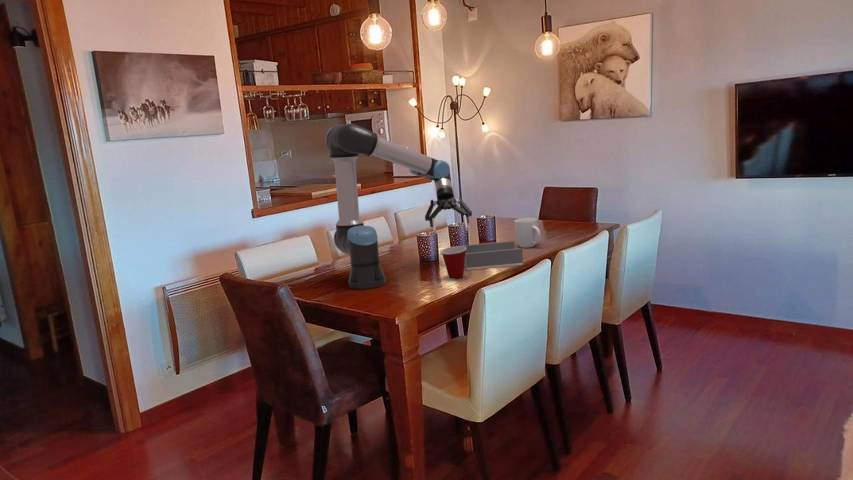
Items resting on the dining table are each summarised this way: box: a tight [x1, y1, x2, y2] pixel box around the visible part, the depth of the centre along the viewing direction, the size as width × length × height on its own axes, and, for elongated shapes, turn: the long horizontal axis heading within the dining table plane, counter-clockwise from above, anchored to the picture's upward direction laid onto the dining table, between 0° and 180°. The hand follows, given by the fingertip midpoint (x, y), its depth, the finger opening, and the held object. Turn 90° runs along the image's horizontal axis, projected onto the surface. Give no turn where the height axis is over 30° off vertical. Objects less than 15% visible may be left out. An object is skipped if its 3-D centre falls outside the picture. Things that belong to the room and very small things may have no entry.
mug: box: [514, 217, 542, 249], centre depth 282 cm, size 15×11×13 cm
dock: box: [461, 240, 524, 271], centre depth 258 cm, size 24×18×7 cm
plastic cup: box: [440, 245, 467, 280], centre depth 238 cm, size 11×11×12 cm
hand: (450, 230), depth 248 cm, fingers open, 13 cm apart
